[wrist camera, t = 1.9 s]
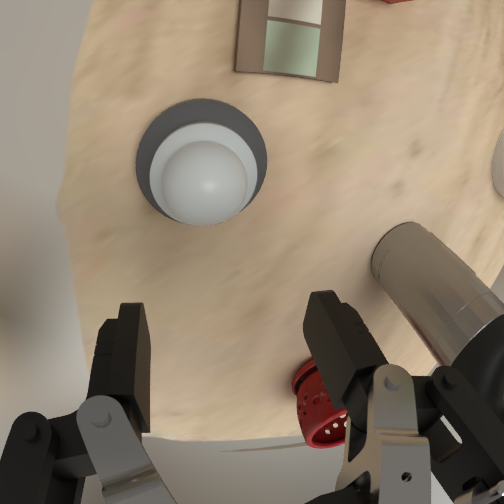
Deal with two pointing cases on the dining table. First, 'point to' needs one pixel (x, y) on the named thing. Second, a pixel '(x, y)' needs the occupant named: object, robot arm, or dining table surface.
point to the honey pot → (499, 165)
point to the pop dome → (203, 174)
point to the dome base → (189, 114)
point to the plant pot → (317, 409)
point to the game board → (291, 38)
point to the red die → (395, 1)
